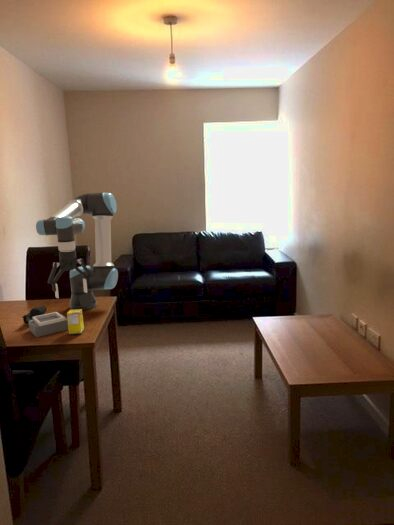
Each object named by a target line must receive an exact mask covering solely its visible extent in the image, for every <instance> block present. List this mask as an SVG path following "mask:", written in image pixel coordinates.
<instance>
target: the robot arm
mask: <svg viewBox="0 0 394 525" xmlns="http://www.w3.org/2000/svg"><path fill="white" fill-rule="evenodd" d="M117 208H118V206H117V201H116V198H115V196H114V195H113V193H111V192H95V193H94V192H91V193H89V192H88V193H82V194H79V195H77V196H75V197H73V198H72V199H70V200H68V201H67V203H66V204H65V206H64V207H62V208H61V209H59V210H58V211H57V212H55V213H54V214H53V215H51V216H50V217H48V218H47V219H39V220H37V222H36V224H35V229H36V230H35V231H36V233H37V234H38V235H40V236H46V237H47V236H57V238H56V239H57V247H58V248H57V249H58V251H59V252H58V257H59V262H55V261H53V262H52V268H51V270H50V273H49V277H48V279H47V284H49V285H51V286H52V291H53V292H54V295H55V298H56V299H60V297H59V287H58V284H57V282H58V281H59V280H60V278H61V277H62V275H63V273H65V272H68V271H69V281H70V291H71V296H70V301H69V310H75V309H82V311H86V310H87V311H88V310H91V309H94V308H96V307H97V305H98V303H97V302H98V301H97V299H96V297H95V295H94V292H93V290H113V289H114V288H115V287H116V285H117V283H118V279H119V272H118V269H117V268H115V264H114V263H112V237H111V236H112V233H111V232H112V228H111V222H112V219H113V217H114V215H115V214H116V213H117ZM81 215H91V217H92V219H94V236H95V237H94V240H95V241H94V242H95V263H94V264H93V265H92V268H91V266H90V265H86V264H85V261H84V259H83V258H78V259H77V251H76V240H75V235H80V234H82V233H83V232H84V231H85V228H86V224H85V221H84V220H83V219H82V218H79V217H80V216H81ZM77 264H79V265H81V266H77ZM59 266H60V268H59V270H58V272H57V269H58V267H59ZM56 272H57V273H56ZM55 274H56V275H55Z"/></svg>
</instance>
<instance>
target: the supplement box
mask: <svg viewBox="0 0 394 525" xmlns="http://www.w3.org/2000/svg"><path fill="white" fill-rule="evenodd" d="M66 318H67V321H68V330H67V331H68V335H69V336H72V335H73V336H75V335H77V336H78V335H83V333H84V331H85V325H84V316H83V310H82V309H75V310H72V309H69V310H68V311H67V312H66Z"/></svg>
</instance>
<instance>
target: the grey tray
mask: <svg viewBox="0 0 394 525" xmlns="http://www.w3.org/2000/svg"><path fill="white" fill-rule="evenodd" d="M32 319H33V320H30V321H29V324H28V327H29V332H30V333H31V334H32V335H33V336H35V338H39V337H43V336H47V335H52V334H56V333H60V332H64V331H65V332H66V331H69V330H68V321H67V316H65V315H63V314H62V313H59V312H57V311H53V312H50V313H44V315H39V316H34V317H32Z"/></svg>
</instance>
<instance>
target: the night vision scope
mask: <svg viewBox="0 0 394 525" xmlns="http://www.w3.org/2000/svg"><path fill="white" fill-rule="evenodd" d="M46 312H47V307H46V306H45V305H40V306H35V307H33V308H32V309H31V310H29V312H28V313H27V314H24V315H23V316H21V319H22V320H23V321H22V322H24V324H26V325H29V321H30V320H33V319H32V317H34V316H39V315H44V314H46Z"/></svg>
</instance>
